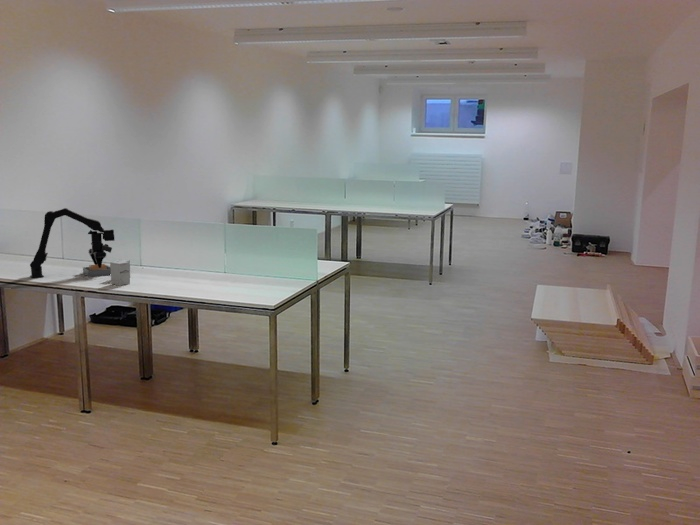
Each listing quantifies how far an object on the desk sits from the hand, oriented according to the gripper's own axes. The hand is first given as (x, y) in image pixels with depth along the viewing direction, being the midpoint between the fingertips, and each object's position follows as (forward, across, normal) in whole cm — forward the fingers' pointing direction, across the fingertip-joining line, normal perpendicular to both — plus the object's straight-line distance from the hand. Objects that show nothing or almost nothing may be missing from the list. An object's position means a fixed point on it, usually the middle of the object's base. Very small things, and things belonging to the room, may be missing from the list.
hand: (98, 266), depth 383 cm
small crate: (+4, 0, 0) cm, 4 cm away
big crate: (+4, 0, 0) cm, 4 cm away
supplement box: (+5, -39, -3) cm, 39 cm away
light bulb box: (+5, -24, -7) cm, 25 cm away
